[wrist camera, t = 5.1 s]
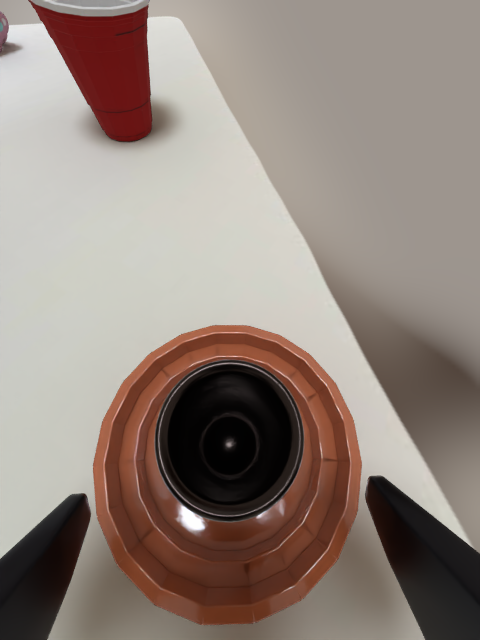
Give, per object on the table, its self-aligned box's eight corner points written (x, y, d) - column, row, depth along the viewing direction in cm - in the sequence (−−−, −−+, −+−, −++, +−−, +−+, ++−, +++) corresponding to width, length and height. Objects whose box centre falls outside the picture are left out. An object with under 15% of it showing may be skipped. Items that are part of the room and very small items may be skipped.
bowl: (374, 525, 16) (415, 545, 12) (141, 633, 14) (109, 695, 10) (285, 327, 22) (295, 301, 18) (110, 378, 19) (84, 361, 16)
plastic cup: (157, 162, 31) (119, 4, 20) (68, 147, 31) (-15, -13, 21) (185, 112, 36) (166, -35, 25) (107, 100, 36) (57, -48, 26)
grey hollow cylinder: (231, 394, 19) (234, 332, 10) (279, 446, 17) (336, 433, 8) (179, 443, 17) (122, 426, 8) (227, 505, 16) (224, 570, 7)
